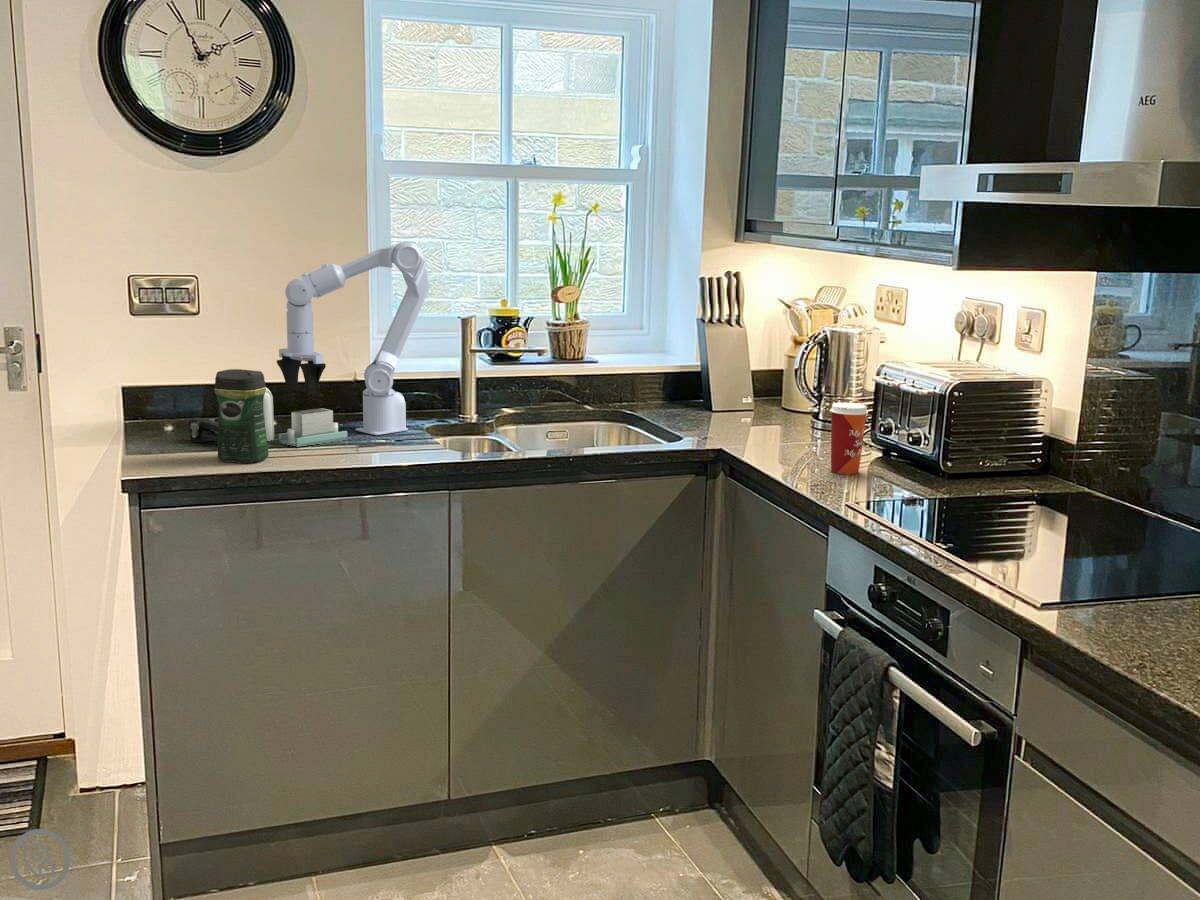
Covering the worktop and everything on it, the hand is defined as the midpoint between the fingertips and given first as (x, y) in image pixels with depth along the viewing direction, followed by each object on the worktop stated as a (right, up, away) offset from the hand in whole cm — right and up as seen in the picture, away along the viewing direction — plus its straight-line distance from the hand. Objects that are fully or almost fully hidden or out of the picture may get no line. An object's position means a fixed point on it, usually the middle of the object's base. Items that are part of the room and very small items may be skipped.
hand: (301, 392), depth 264 cm
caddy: (+5, -11, -8) cm, 14 cm away
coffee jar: (-5, -15, -27) cm, 31 cm away
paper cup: (+119, -18, -23) cm, 122 cm away
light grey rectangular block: (+4, -11, -8) cm, 14 cm away
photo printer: (-8, -11, -5) cm, 15 cm away
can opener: (-14, -12, -13) cm, 23 cm away
